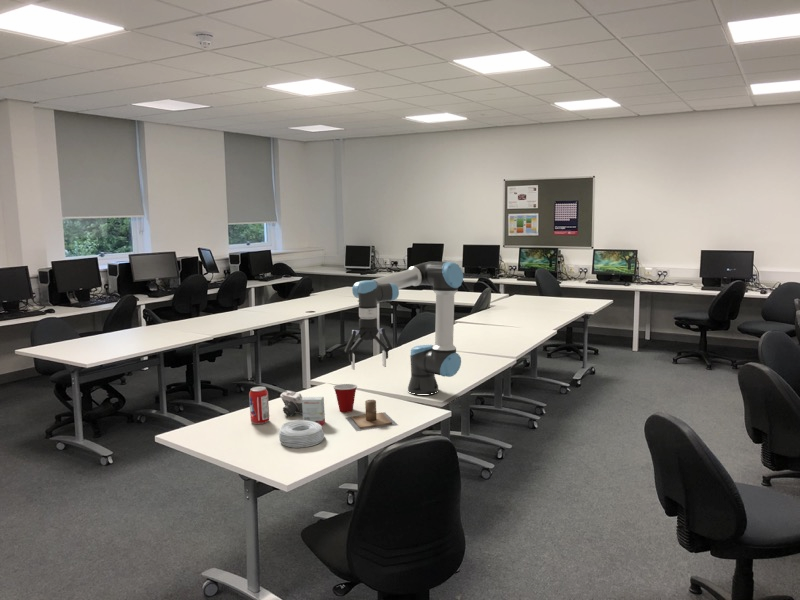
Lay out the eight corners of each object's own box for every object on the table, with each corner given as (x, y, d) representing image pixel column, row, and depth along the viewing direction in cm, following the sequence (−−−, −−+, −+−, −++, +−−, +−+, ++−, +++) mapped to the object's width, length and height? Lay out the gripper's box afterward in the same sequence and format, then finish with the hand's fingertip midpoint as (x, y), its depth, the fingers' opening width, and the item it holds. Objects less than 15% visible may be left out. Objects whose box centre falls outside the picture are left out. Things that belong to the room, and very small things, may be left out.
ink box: (325, 423, 255) (324, 396, 254) (323, 427, 251) (321, 399, 249) (305, 422, 256) (304, 396, 255) (303, 426, 252) (301, 399, 250)
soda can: (266, 425, 255) (264, 390, 253) (248, 425, 255) (246, 391, 253) (271, 418, 262) (269, 385, 260) (253, 419, 263) (251, 385, 261)
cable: (284, 433, 245) (284, 418, 244) (327, 432, 245) (326, 418, 244) (274, 449, 228) (273, 434, 227) (320, 449, 227) (319, 433, 226)
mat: (384, 413, 266) (384, 412, 266) (398, 426, 249) (398, 425, 249) (345, 418, 260) (345, 417, 260) (356, 432, 243) (356, 431, 243)
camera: (293, 404, 278) (283, 386, 274) (314, 410, 267) (305, 391, 263) (278, 417, 272) (268, 399, 268) (299, 423, 261) (290, 404, 257)
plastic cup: (359, 407, 275) (358, 381, 274) (357, 414, 265) (356, 388, 263) (335, 407, 276) (334, 382, 274) (332, 415, 265) (331, 389, 263)
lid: (381, 414, 263) (381, 394, 262) (392, 424, 250) (391, 403, 249) (351, 418, 259) (350, 398, 257) (359, 428, 246) (359, 408, 244)
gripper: (340, 320, 242) (341, 372, 245) (399, 317, 250) (399, 367, 252) (336, 318, 249) (337, 368, 252) (393, 314, 257) (394, 363, 259)
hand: (368, 367), depth 252 cm, fingers open, 13 cm apart
